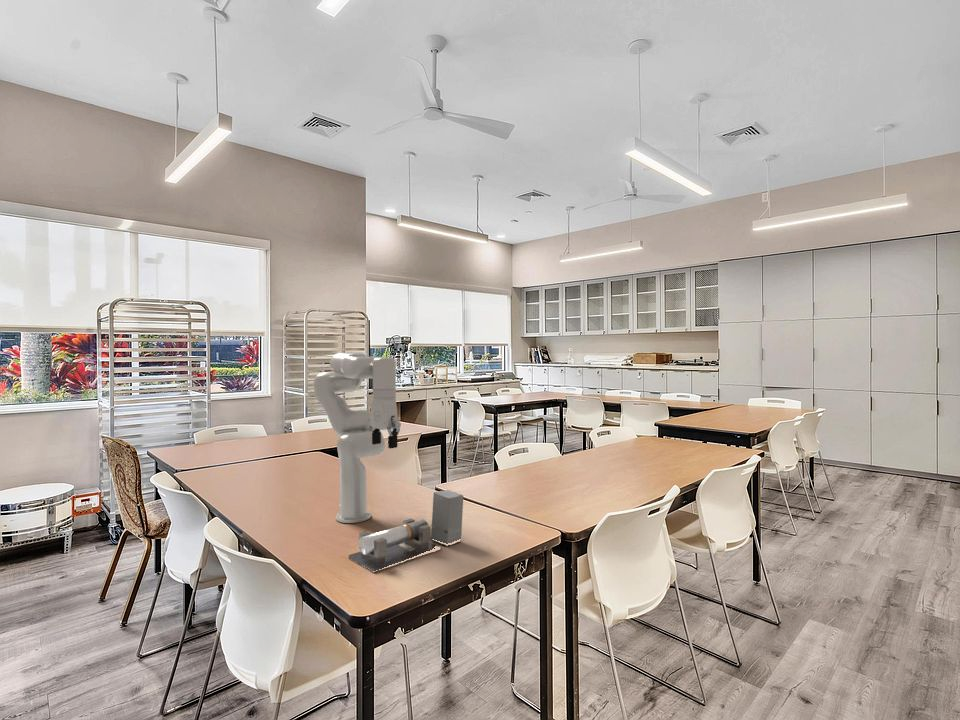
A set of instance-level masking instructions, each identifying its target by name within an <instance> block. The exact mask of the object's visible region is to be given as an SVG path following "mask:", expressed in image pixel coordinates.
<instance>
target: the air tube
mask: <svg viewBox="0 0 960 720" xmlns="http://www.w3.org/2000/svg"><path fill="white" fill-rule="evenodd" d="M424 525H429V523H428V522H427V520H426V519H419V520H416V521H415V522H412V523H409V524H405V525H403V524H402V525H399V526H396V527H391V528H389V529H384V530H381V531H379V532H374V533H372V534H371V535H367V536H364V537H361V538H360V540H358V541H359V542H358V544H359V547H360V548H359V547H358V548H359V550H360V551H361V552H362V553H363V554H364V555H366V554H369V553H372V552H374V540H377V539H380V538H385V539H387V548H388V547H391V546H394V545H398V544H401V543H404V542H408V541H410V540H413V539H417V538H419V527H421V526H424Z"/></svg>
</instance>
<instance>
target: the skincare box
mask: <svg viewBox="0 0 960 720" xmlns="http://www.w3.org/2000/svg"><path fill="white" fill-rule="evenodd" d="M463 508H464V495H463V494H460V493H458V492H457V491H452V490H449V489H445V490H440V491H439V490H438V491H435V492H433V498H432V515H431V516H432V517H431V538H432V539H434V540H437V541H440V542H443V543H446V544H448V543H452V542H454V541H457V540H459V539H461V540H462V531H463V530H462V529H463V512H464V511H463Z"/></svg>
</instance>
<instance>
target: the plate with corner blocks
mask: <svg viewBox="0 0 960 720" xmlns="http://www.w3.org/2000/svg"><path fill="white" fill-rule="evenodd" d="M412 522H416V521H415V519H413V518H409V519H408V518H407V519H405V520H403V524H402V525H405V524H409V523H412ZM431 529H432V525H429V524H428V525H424V526H421V527H419V538H417V539H413V540H410V541H408V542H404V543H401V544H398V545H394V546H391V547H388V548H387V539H385V538H380V539H377V540H374V552H372V553H369V554H366V555H364V554H363V553H362V552H361V550H360V551H358V552H354V553H351V554H349V555H348V559H349V558H350V559H352V560H353V561H352V560H351V561H352V562H354V561H356V562H357V563H359V564H361V565H363V566H365V567H367V568H369V569H370V570H372V571H376V570H379V569H382V568H384V567H387V566H389V565H392V564H395V563H398V562H401V561H404V560H406V559H409V558H412V557H414V556H417V555H419V554H421V553H424V552H426V551H430V550H432V549H433V548H434V547H435V546H436V545H437V544H436V543H435V542H434V543H433V542H432V540H431ZM371 534H373V533H372V531H369V530H365V531H362V532H358V539H359V540H360V538H361V537H364V536H367V535H371ZM359 540H358V541H359ZM358 548H359V549H360V547H358ZM434 549H435V548H434ZM350 559H349V560H350ZM356 562H355V563H356ZM357 563H356V564H357ZM359 564H358V565H359ZM361 565H360V566H361Z"/></svg>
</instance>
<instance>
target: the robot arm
mask: <svg viewBox="0 0 960 720" xmlns="http://www.w3.org/2000/svg"><path fill="white" fill-rule="evenodd" d="M329 367H330V369H331V371H325V372H321V373H318V374H317V375H316V376H315V377H314V380H313V390H314V391H313V392H314V395H315V397H316V400H317V401H318V403H319V404H320V405H321V407H322V408H323V409H324V411H325V412H326V415H327V416H326V417H328V420H329V423H330V425H331V427H332V429H333V431H334V433H335V434H336V435H337V436H338V437H339V438H338V439H337V442H336V448H337V454H338V461H339V504H338V505H337V507H338V509H339V513H337V514H336V515H335V520H336V521H337V522H338V523H343V524H356V523H357V524H358V523H361V522H365V521H367V520H369V519H371V517H372V514H371V512H370V511H369V510H367V500H368V499H367V468H366V466H365V464H364V463H363V462H362V461H361V459H362V458H368V457H375V456H379V455H381V454H382V453H383V452H384V451H385V448H386V447H385V445H386V443H385V442H386V441H385V438H384V436H383V433H382V431H385V430H386V431H387V433H388V434H389V435H388V441H387V443H388V444H387V445H388V446H387V447H388V449H396V448H398V436H399V432H400V431H401V430H400V429H401V426H402V425H401V424H402V423H401V422H400V421H399V420H398V407H397V406H398V405H397V400H396V397H397V392H396V391H397V389H396V387H397V385H396V381H397V380H396V376H397V375H396V373H397V370H396V360H395V358H393V357H384V356H367V355H366V354H365V353H363V352H338V353H336V354H334V355H333V356H332V357H331V359H330V361H329ZM364 379H365V380H366V379H372V398H371V405H370V411H369V410H366V409H364V410H363V409H359V410H353V409H350V407H349V405H348V402H347V401H346V400H345V399H344V398H342V397H341V396H340V395H338V394H337V393H340V394H341V393H353V392H356V391H357V390H358V389H360V386H361V384H362V382H363V380H364Z"/></svg>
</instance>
